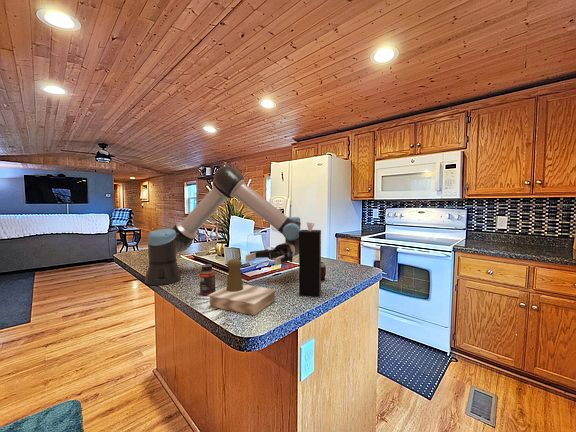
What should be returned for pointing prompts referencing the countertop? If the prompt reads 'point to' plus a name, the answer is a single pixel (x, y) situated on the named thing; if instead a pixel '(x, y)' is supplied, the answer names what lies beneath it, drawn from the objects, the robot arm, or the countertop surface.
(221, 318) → the countertop surface
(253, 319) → the countertop surface
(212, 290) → the supplement bottle
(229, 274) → the cork
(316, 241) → the tissue box
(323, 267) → the mate gourd
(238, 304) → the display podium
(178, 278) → the robot arm
